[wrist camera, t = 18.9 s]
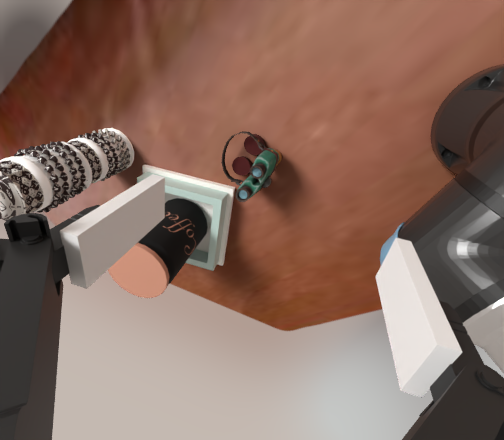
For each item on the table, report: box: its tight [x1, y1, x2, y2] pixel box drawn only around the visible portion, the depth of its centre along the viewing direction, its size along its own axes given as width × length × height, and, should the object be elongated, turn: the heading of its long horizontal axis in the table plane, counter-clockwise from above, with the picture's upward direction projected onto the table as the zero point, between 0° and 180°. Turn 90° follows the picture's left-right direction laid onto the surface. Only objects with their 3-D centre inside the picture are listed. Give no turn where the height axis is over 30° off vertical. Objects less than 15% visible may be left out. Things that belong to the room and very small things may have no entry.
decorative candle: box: [0, 128, 134, 221], centre depth 46 cm, size 9×9×25 cm
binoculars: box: [222, 132, 282, 202], centre depth 46 cm, size 9×11×10 cm
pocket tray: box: [137, 164, 235, 271], centre depth 58 cm, size 19×19×4 cm
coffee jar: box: [108, 198, 208, 298], centre depth 52 cm, size 11×11×18 cm
